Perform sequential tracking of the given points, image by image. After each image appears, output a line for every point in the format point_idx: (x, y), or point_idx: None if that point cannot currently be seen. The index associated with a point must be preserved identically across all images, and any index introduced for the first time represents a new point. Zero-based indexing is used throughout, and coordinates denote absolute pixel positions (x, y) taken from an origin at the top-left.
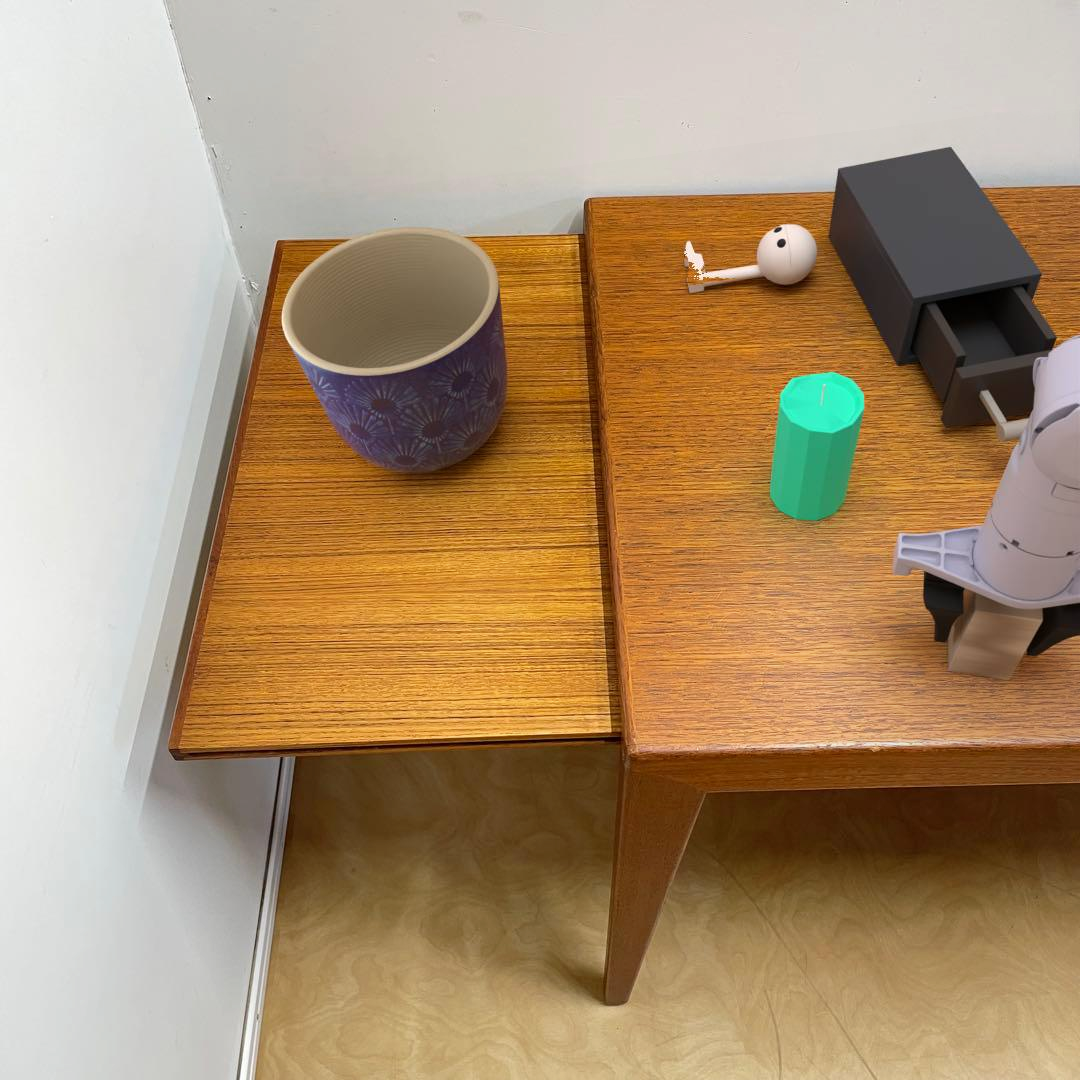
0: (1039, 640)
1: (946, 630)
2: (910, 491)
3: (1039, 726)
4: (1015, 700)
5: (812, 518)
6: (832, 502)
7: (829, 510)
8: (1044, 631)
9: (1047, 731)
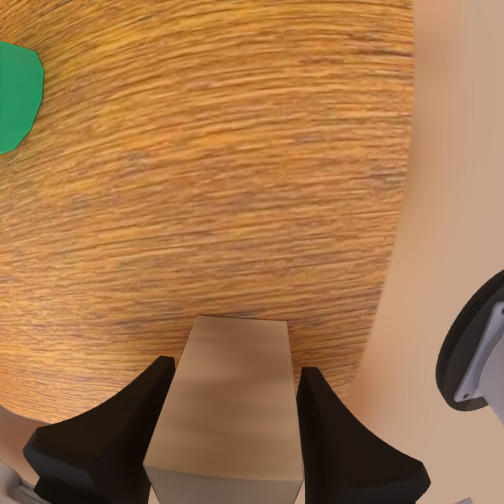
0: (302, 445)
1: None
2: (135, 45)
3: None
4: None
5: (7, 151)
6: (4, 135)
7: (15, 137)
8: (306, 462)
9: None
